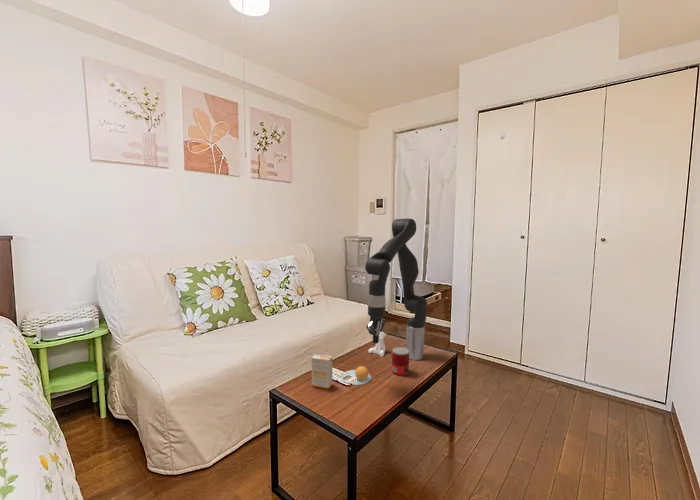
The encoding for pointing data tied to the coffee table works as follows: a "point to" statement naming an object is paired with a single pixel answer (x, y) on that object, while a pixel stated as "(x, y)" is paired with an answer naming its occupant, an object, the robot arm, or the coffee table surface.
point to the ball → (361, 373)
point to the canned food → (400, 361)
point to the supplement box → (322, 371)
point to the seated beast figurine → (379, 346)
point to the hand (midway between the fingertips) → (375, 342)
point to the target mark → (357, 381)
